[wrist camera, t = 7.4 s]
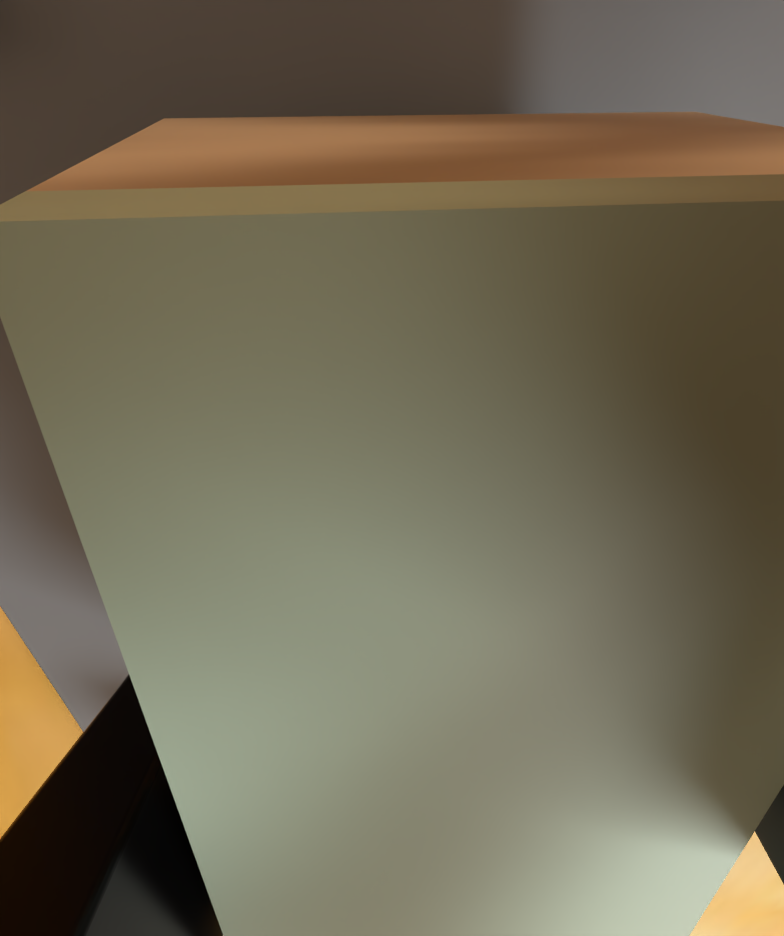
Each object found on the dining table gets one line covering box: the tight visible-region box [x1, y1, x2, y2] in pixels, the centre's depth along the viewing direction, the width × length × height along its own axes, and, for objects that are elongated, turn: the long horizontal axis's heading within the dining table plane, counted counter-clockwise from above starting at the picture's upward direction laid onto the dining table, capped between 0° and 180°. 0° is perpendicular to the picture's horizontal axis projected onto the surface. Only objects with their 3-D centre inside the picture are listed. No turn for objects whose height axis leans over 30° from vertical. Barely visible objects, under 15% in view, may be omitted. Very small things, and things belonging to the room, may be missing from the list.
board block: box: [0, 112, 784, 936], centre depth 7 cm, size 5×10×4 cm, turn 0°
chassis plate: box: [0, 0, 784, 732], centre depth 11 cm, size 14×18×2 cm
